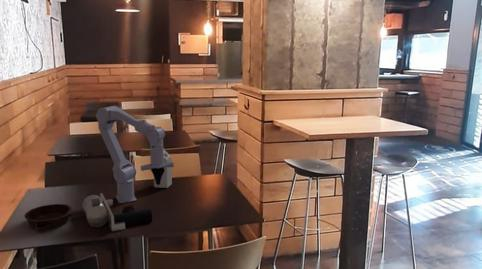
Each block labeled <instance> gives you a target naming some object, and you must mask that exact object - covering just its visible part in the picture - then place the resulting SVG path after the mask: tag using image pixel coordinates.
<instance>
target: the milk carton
mask: <svg viewBox="0 0 482 269" xmlns="http://www.w3.org/2000/svg"><path fill="white" fill-rule="evenodd" d="M163 154H164V162H172V155H170V154H169V153H168V152H167V151H166V150H165V147H163ZM164 169H165V171H164V173H163V175H162V178H161V182H160V185H157V184H156V181H155V178H154V177H153V187H154V188H161V189H162V188H163V189H168V188H169V187H170V186H172V184H173V177H172V176H173V174H172V172H173V171H172V167H167V168H164Z"/></svg>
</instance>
